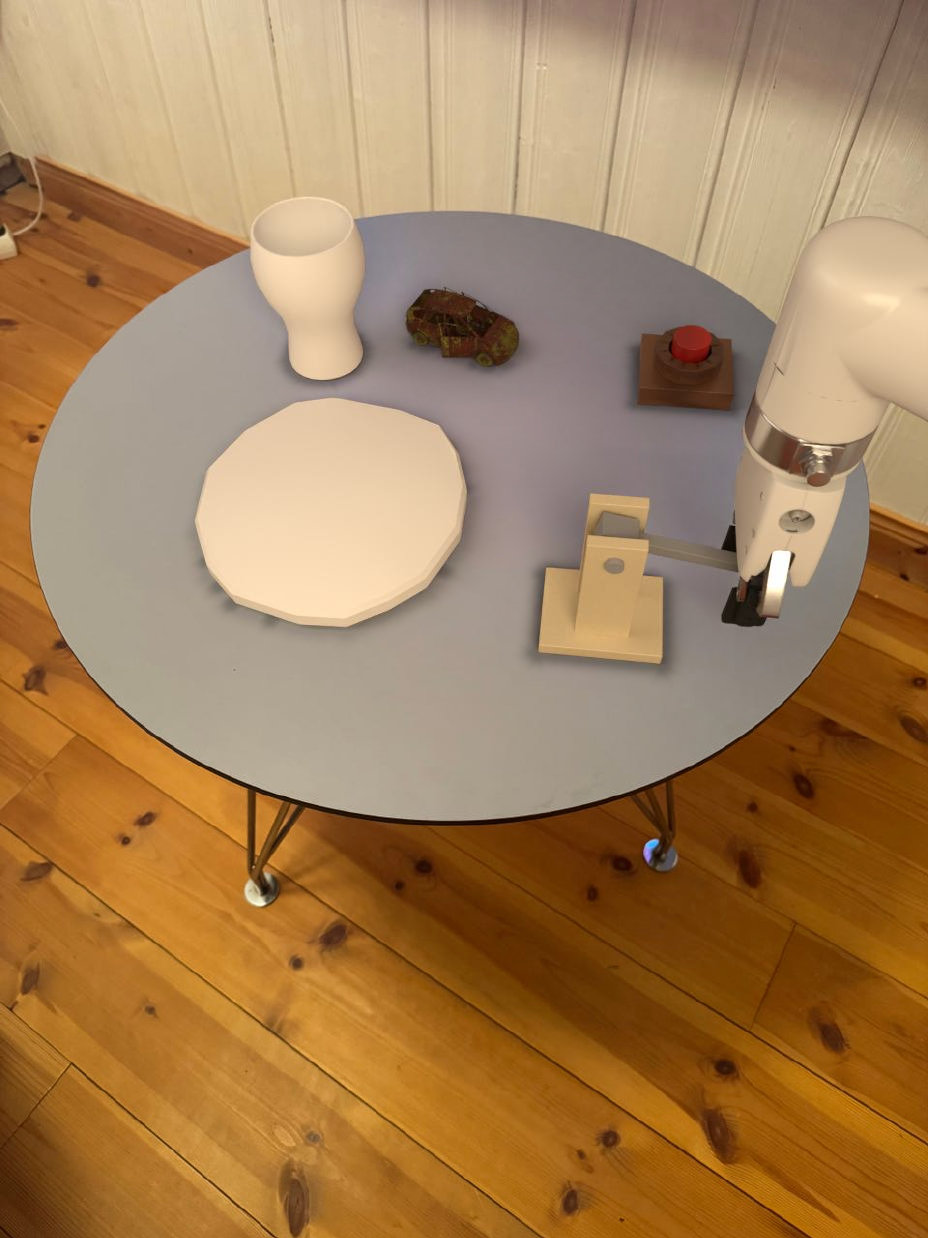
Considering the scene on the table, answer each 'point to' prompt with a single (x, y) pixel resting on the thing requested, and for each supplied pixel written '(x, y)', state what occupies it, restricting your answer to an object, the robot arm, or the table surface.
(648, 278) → the table surface
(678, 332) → the button
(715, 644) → the table surface
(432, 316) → the toy car
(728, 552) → the lever
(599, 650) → the lever base
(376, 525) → the decorative plate
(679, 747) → the table surface
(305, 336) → the cup
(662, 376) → the button block
